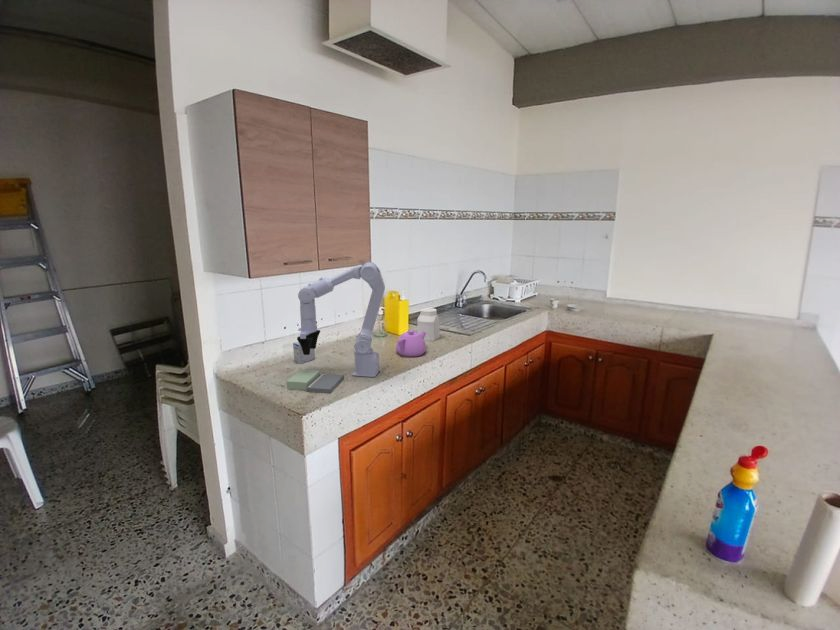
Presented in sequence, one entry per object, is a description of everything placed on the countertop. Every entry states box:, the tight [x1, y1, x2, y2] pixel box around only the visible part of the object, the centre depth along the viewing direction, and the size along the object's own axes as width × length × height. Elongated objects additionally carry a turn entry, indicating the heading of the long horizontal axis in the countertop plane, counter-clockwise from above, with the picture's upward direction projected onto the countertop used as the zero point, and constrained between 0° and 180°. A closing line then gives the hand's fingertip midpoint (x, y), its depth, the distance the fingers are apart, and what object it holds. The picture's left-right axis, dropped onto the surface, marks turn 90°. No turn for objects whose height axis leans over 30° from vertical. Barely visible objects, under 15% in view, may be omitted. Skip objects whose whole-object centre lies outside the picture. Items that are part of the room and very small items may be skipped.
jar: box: [416, 307, 441, 342], centre depth 214 cm, size 12×10×15 cm
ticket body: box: [306, 373, 345, 394], centre depth 156 cm, size 9×14×2 cm, turn 170°
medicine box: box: [292, 341, 316, 365], centre depth 182 cm, size 8×4×9 cm, turn 141°
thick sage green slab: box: [286, 369, 321, 391], centre depth 158 cm, size 8×12×3 cm, turn 170°
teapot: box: [395, 329, 427, 358], centre depth 193 cm, size 14×20×11 cm
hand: (309, 351), depth 165 cm, fingers open, 7 cm apart
